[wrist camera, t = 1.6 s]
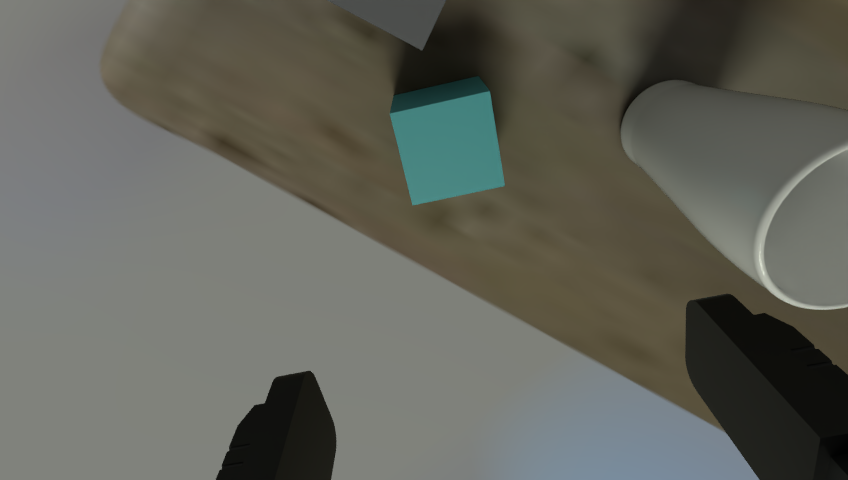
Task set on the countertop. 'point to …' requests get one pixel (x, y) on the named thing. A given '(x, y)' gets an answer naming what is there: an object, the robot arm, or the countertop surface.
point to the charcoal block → (398, 16)
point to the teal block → (447, 140)
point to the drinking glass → (753, 181)
